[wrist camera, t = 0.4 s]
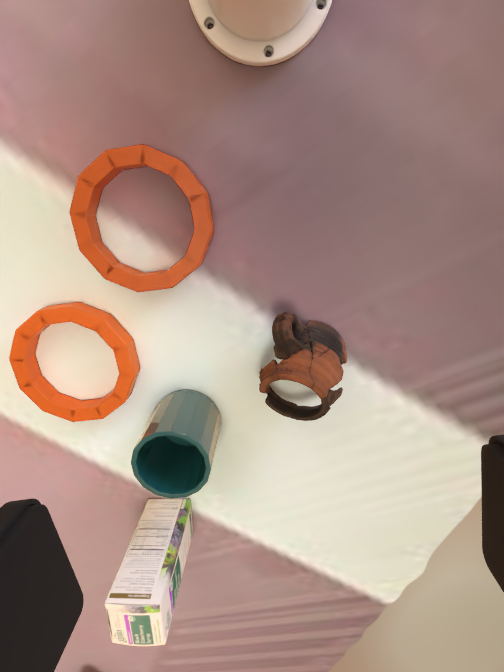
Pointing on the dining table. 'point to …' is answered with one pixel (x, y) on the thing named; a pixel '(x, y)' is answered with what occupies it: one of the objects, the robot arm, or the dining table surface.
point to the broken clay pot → (304, 365)
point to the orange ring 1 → (43, 390)
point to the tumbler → (177, 445)
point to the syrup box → (150, 574)
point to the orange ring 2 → (89, 232)
